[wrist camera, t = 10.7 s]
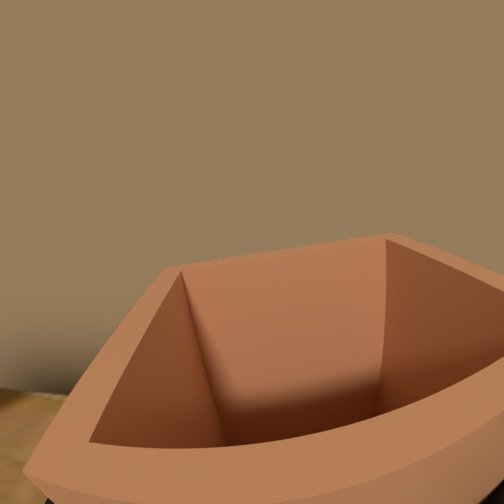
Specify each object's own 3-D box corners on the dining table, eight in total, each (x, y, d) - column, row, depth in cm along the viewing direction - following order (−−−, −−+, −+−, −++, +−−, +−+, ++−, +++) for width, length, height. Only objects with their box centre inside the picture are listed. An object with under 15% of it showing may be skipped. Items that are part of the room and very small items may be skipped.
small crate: (231, 597, 5) (21, 471, 2) (228, 471, 13) (164, 267, 10) (426, 551, 5) (593, 321, 2) (373, 442, 14) (392, 232, 11)
